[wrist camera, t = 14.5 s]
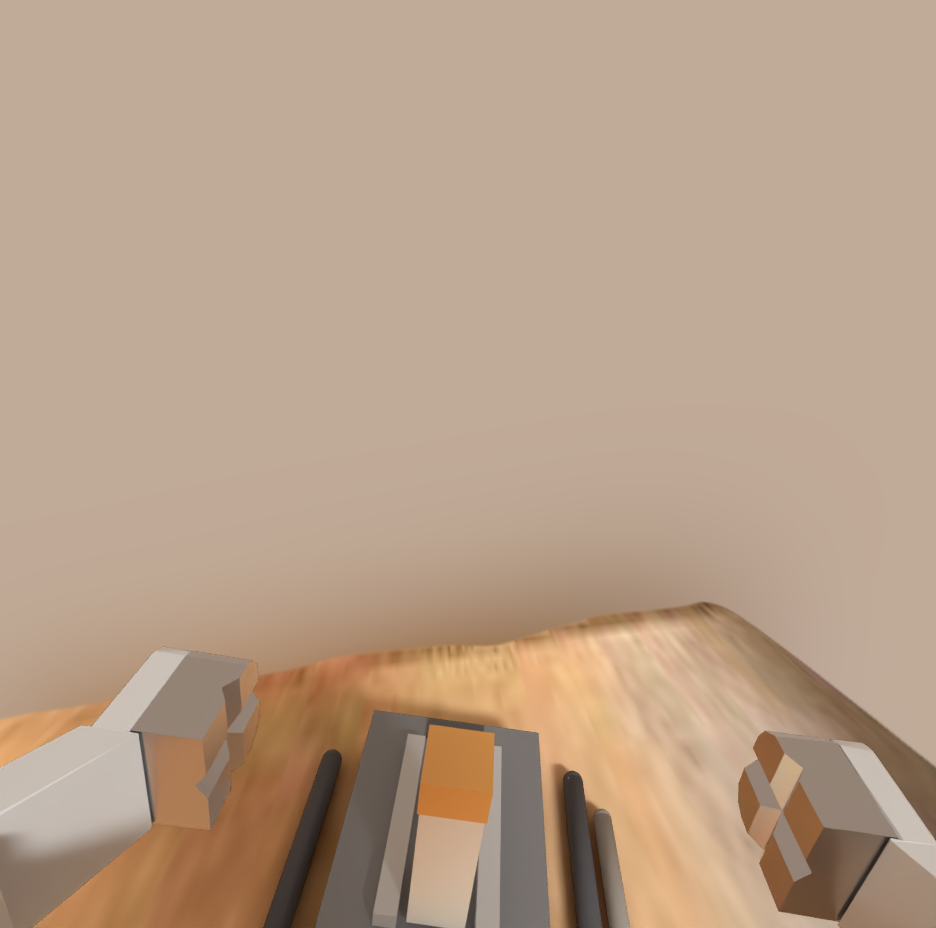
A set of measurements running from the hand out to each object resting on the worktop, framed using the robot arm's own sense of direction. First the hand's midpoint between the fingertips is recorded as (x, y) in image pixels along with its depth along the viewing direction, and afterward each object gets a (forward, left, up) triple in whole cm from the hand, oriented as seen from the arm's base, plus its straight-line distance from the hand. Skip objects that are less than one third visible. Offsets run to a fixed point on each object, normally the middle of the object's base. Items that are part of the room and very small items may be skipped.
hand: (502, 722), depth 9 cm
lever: (-9, -8, -26) cm, 28 cm away
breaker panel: (-12, -10, -30) cm, 34 cm away
